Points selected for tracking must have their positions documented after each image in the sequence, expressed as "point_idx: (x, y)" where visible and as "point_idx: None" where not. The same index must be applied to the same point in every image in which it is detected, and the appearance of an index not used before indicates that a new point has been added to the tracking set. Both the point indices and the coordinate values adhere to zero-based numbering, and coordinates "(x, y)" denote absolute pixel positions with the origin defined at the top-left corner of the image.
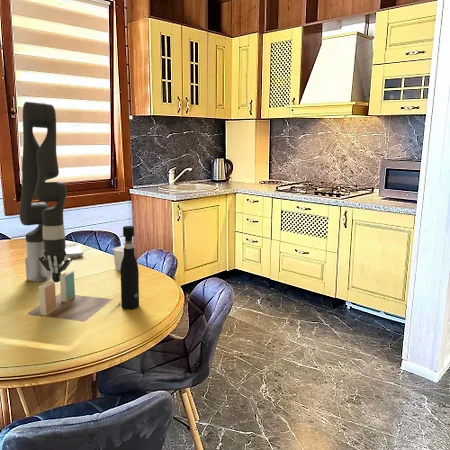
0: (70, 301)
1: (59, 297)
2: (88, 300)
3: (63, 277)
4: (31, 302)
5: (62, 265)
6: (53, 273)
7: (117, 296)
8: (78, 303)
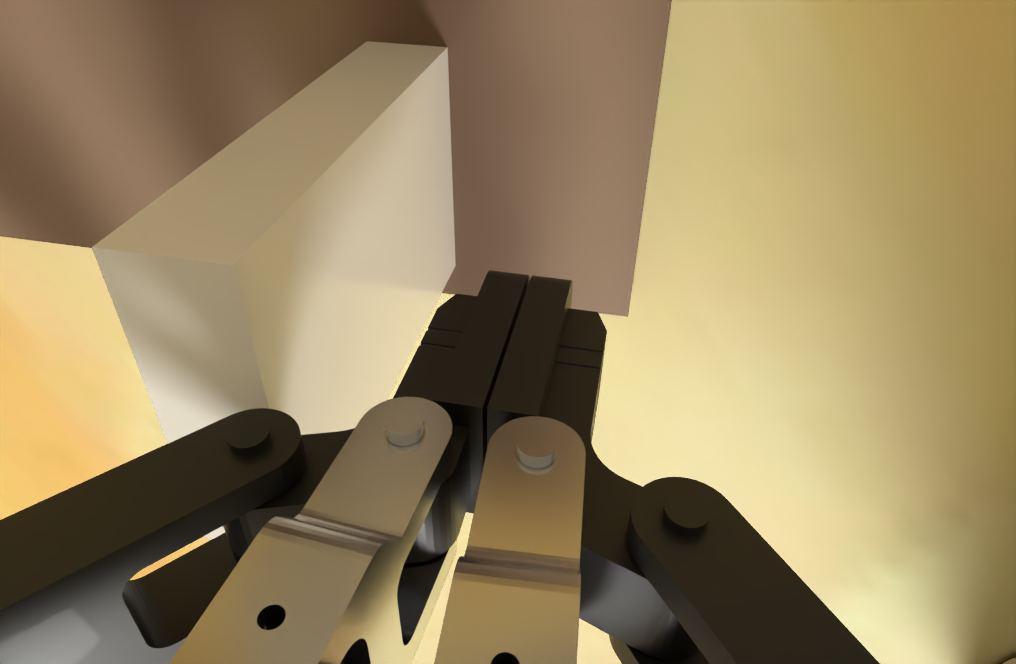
0: (323, 72)
1: (560, 186)
2: (142, 148)
3: (153, 230)
4: (988, 18)
5: (77, 565)
6: (520, 406)
7: (69, 347)
8: (176, 24)
